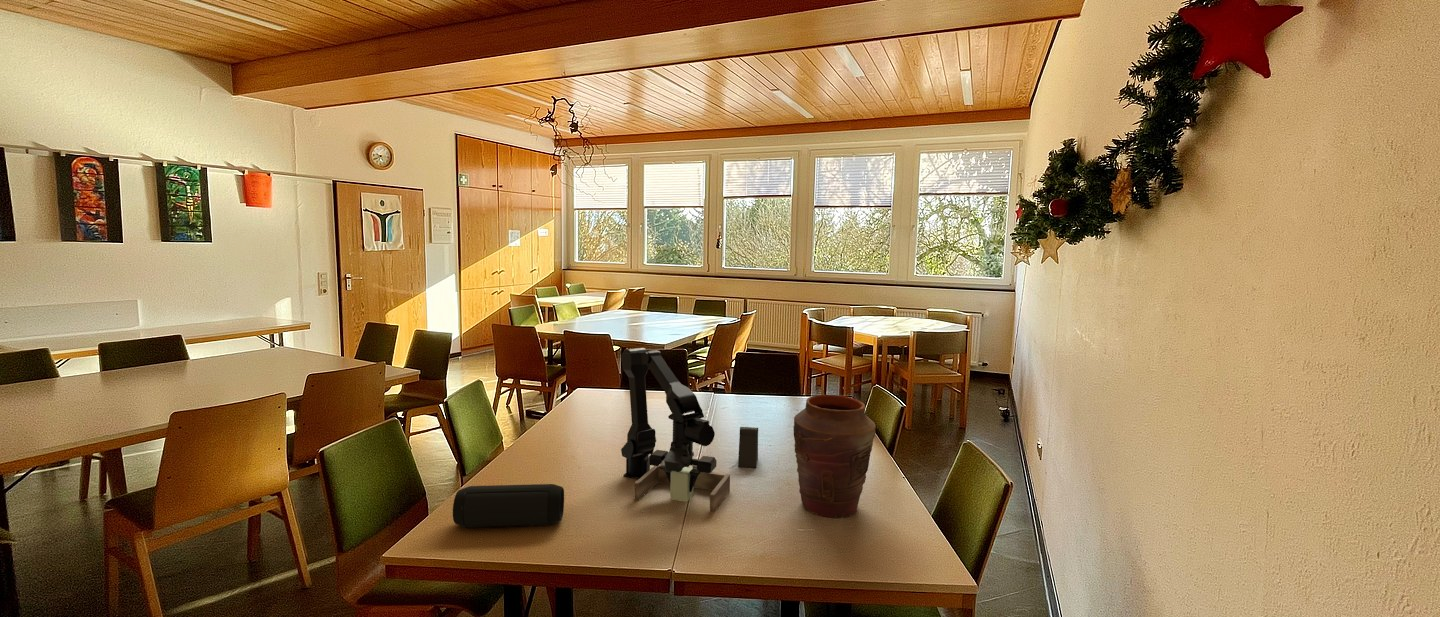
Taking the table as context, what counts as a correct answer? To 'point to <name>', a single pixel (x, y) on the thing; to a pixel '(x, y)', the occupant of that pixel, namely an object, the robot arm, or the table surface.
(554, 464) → the table surface
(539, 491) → the portable speaker
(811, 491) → the vase
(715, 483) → the wooden u-shaped frame
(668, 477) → the robot arm
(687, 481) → the block
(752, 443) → the door stopper
